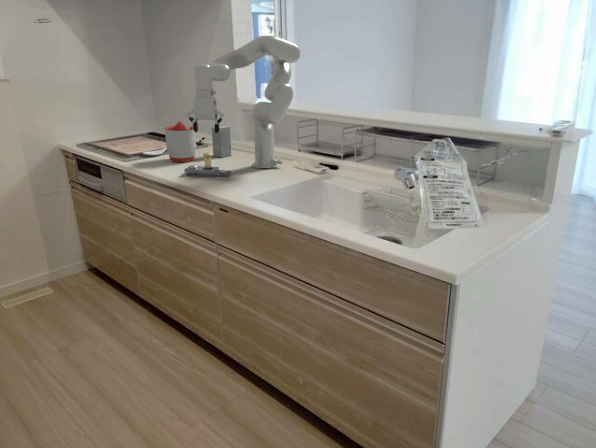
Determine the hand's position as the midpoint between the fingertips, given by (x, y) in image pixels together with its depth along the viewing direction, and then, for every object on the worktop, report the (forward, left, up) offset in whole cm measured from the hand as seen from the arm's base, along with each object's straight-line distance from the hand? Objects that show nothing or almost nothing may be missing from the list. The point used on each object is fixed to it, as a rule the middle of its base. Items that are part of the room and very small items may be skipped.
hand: (206, 132), depth 222 cm
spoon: (+37, -42, -20) cm, 60 cm away
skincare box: (+6, -41, -20) cm, 46 cm away
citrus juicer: (+23, -27, -20) cm, 41 cm away
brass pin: (0, 0, -20) cm, 20 cm away
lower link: (-3, 0, -20) cm, 20 cm away
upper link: (+3, 0, -20) cm, 20 cm away
